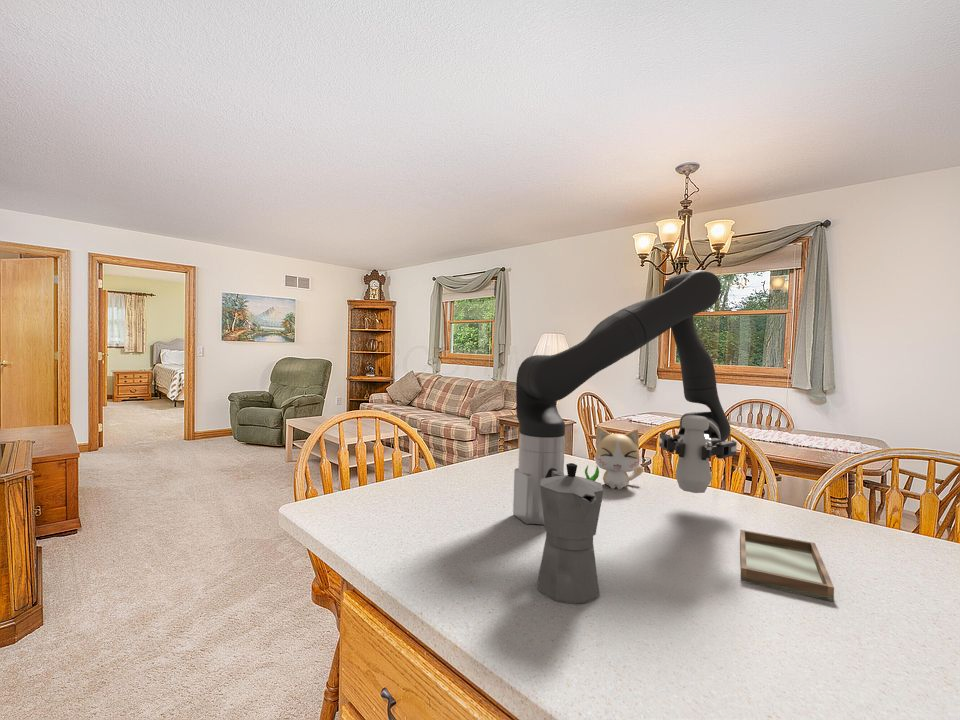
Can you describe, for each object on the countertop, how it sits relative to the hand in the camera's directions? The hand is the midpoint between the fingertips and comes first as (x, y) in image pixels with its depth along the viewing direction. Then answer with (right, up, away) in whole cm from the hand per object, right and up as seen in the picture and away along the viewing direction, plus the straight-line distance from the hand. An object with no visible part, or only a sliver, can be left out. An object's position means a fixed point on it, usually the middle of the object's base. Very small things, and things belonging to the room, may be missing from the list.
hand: (692, 452), depth 80 cm
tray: (+13, -18, -3) cm, 22 cm away
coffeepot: (-24, -17, -11) cm, 31 cm away
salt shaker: (+1, -7, +3) cm, 8 cm away
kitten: (-2, -17, +42) cm, 45 cm away
